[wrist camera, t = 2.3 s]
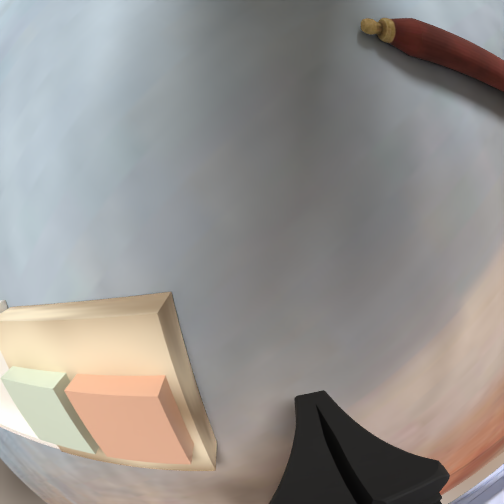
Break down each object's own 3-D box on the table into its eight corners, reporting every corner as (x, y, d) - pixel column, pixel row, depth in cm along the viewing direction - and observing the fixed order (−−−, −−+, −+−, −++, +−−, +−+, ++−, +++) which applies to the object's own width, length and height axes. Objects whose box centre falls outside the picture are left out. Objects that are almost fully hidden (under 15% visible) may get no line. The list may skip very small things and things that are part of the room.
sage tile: (103, 437, 12) (95, 454, 10) (47, 425, 12) (39, 439, 10) (65, 372, 11) (52, 388, 9) (12, 366, 11) (0, 378, 9)
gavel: (398, 90, 8) (352, -51, 6) (361, 116, 13) (335, -10, 11) (577, 162, 8) (551, 56, 6) (544, 161, 12) (523, 65, 10)
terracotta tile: (193, 443, 12) (191, 464, 10) (114, 439, 12) (106, 456, 10) (165, 375, 11) (157, 396, 9) (76, 373, 11) (63, 390, 9)
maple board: (216, 442, 15) (215, 470, 12) (73, 431, 15) (61, 451, 12) (171, 291, 13) (157, 313, 10) (11, 306, 12) (-12, 321, 10)
